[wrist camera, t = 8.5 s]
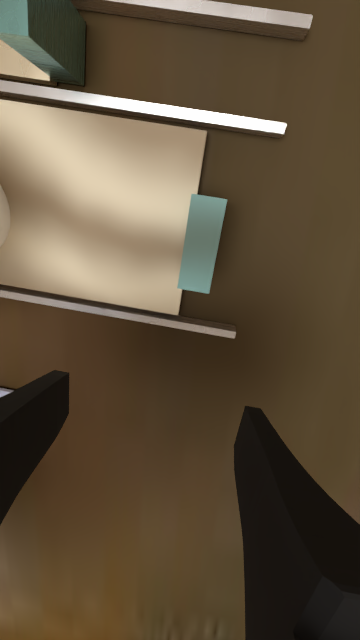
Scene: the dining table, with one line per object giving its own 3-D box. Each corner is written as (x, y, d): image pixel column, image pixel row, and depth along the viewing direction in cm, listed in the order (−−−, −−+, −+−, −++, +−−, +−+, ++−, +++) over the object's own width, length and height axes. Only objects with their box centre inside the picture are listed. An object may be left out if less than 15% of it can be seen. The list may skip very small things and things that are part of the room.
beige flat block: (201, 315, 21) (197, 352, 16) (-102, 261, 22) (-198, 280, 17) (234, 138, 17) (244, 111, 12) (-139, 80, 18) (-279, 32, 13)
